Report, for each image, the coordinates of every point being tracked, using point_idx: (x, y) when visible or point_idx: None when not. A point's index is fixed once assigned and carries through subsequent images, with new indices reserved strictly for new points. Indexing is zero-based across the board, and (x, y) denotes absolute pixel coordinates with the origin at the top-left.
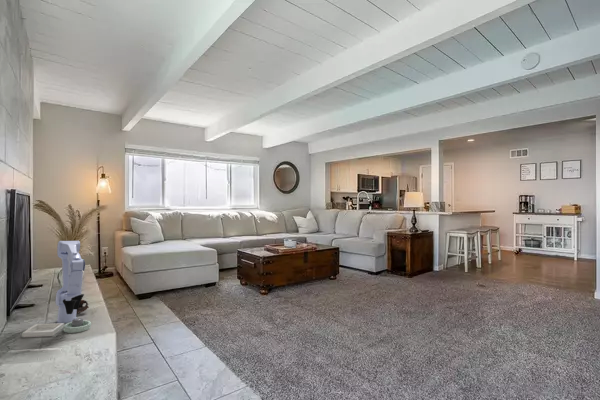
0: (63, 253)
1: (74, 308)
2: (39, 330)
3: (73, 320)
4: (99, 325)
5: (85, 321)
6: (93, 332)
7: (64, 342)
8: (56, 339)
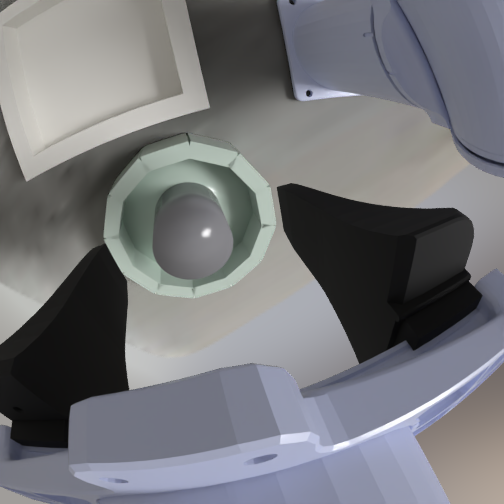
0: None
1: (283, 207)
2: (115, 2)
3: (162, 232)
4: (279, 269)
5: (257, 236)
6: (171, 306)
7: (25, 274)
8: (32, 211)
